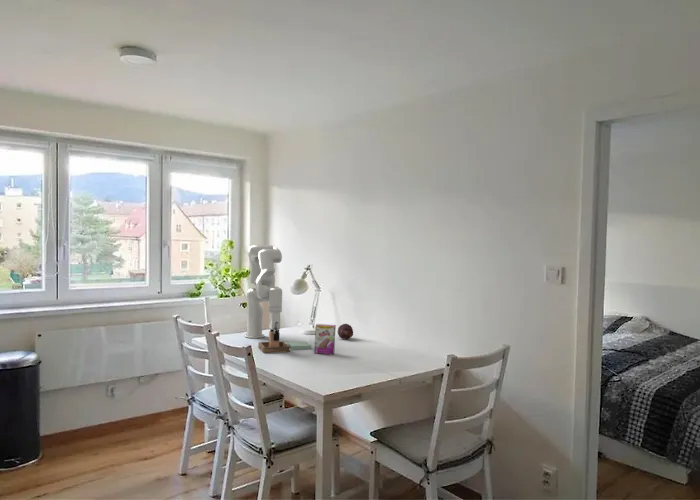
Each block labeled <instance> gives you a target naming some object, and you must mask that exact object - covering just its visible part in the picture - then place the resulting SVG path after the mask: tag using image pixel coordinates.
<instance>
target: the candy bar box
mask: <svg viewBox="0 0 700 500" xmlns="http://www.w3.org/2000/svg"><path fill="white" fill-rule="evenodd" d="M336 327H337V325H336V324H327V323H326V324H325V323H316V324H315V327H314V328H315V329H314V331H315V332H314V333H315V334H314V354H317V355H330V354H333V355H334V354H335V352H336V332H337V331H336V329H337V328H336Z"/></svg>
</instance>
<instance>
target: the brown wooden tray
mask: <svg viewBox="0 0 700 500" xmlns="http://www.w3.org/2000/svg"><path fill="white" fill-rule="evenodd" d="M257 346H258V349H259V350H260V352H262V354H270V353H271V354H272V353H273V354H275V353H291V352H290V351H291V349H290V346H288V345H287V342H285V341H279V347H269V341H259V342H258V345H257Z"/></svg>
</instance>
